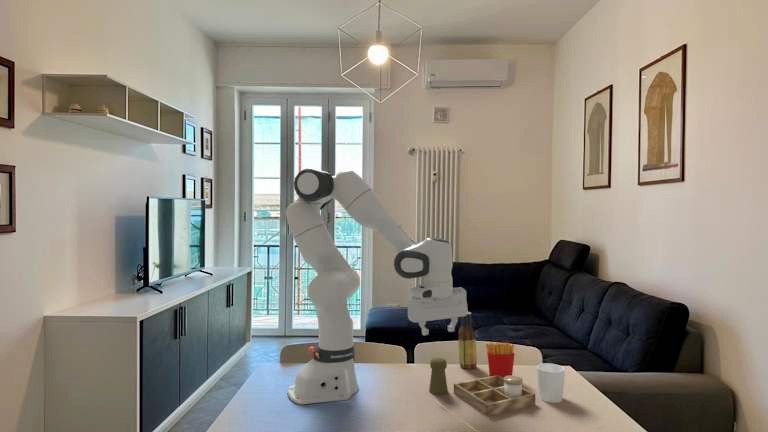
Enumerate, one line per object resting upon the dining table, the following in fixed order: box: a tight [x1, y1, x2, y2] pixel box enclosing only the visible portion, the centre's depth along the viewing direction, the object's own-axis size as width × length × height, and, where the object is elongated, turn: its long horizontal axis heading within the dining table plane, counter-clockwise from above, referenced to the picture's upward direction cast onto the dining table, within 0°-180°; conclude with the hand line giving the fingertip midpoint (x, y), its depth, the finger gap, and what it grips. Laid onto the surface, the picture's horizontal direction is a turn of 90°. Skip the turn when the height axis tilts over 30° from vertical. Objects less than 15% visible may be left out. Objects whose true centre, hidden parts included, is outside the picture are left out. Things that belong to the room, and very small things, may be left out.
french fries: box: [485, 342, 515, 378], centre depth 158 cm, size 9×4×13 cm, turn 86°
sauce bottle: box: [458, 311, 478, 370], centre depth 172 cm, size 7×6×20 cm
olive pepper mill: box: [428, 357, 449, 396], centre depth 148 cm, size 6×6×11 cm
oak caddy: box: [453, 375, 536, 417], centre depth 142 cm, size 17×17×4 cm
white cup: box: [536, 362, 566, 404], centre depth 142 cm, size 8×8×10 cm
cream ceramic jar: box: [504, 374, 523, 398], centre depth 140 cm, size 5×5×7 cm
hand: (438, 333), depth 148 cm, fingers open, 8 cm apart
